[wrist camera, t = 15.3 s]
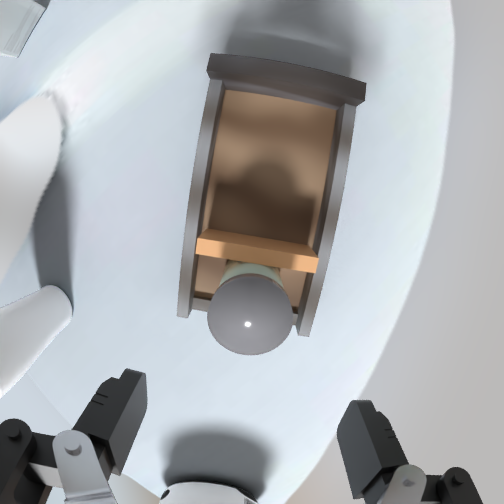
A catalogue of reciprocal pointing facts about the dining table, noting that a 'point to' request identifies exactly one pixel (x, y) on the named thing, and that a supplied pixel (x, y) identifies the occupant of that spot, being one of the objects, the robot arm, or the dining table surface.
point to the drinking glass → (29, 331)
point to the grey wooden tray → (269, 170)
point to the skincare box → (17, 24)
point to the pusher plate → (257, 250)
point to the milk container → (205, 494)
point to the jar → (250, 309)
